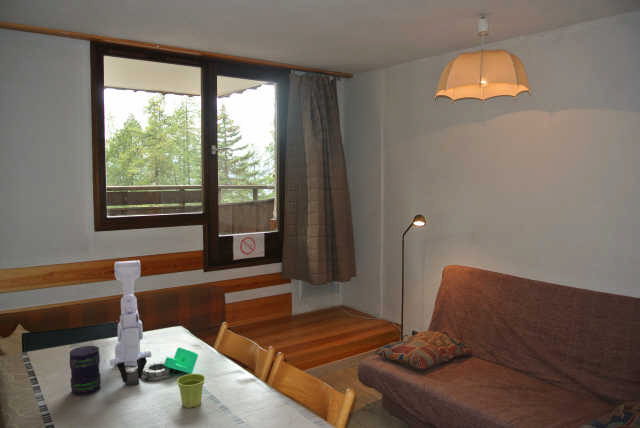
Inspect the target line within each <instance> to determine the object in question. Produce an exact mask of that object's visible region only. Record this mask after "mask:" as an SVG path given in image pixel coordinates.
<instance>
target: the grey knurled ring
mask: <svg viewBox="0 0 640 428" xmlns="http://www.w3.org/2000/svg"><path fill="white" fill-rule="evenodd" d="M164 363H165V361H157V362H152V363H149V364H146V365H145V367H144V369H143V372H142V377H141V380H143V381H145V382H158V381H163V380H167V379H169V378H172V377H173V376H174V375H175V374H176V369H173V368H169V367H166V366H164Z"/></svg>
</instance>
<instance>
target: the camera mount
mask: <svg viewBox="0 0 640 428" xmlns="http://www.w3.org/2000/svg"><path fill="white" fill-rule="evenodd" d="M198 358H199V353H197V352H194V351H192V350H189V349H187V348H182V347H178V348H177V349H176V351H175V354H174V357H171V356H166V358H165V360H164V362H165V363H164V366H166V367H169V368H173V369H175V370H177V371H181V372H184V373H187V374H193V372H194V369H195V367H196V363H197V360H198Z"/></svg>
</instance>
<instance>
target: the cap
mask: <svg viewBox="0 0 640 428" xmlns="http://www.w3.org/2000/svg"><path fill="white" fill-rule="evenodd" d="M139 384H140V379H139V369H138V368H137V367H132V368H131V367H130V368H126V383H124V386H125V387H134V386H135V387H136V386H137V385H139Z"/></svg>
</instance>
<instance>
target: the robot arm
mask: <svg viewBox="0 0 640 428" xmlns="http://www.w3.org/2000/svg"><path fill="white" fill-rule="evenodd" d="M141 273H142V272H141V261H140V260H139V259H137V260H126V261H115V262H114V277H115V279H116V281H120V282H121V283H122V293H123V294H122V295H123V296H122V297H121V299H120V315H119V322H118V324H117V329H116V330H117V342H116V344H115V348H114V358H112V359H110V360H109V363H110V364H109V365H110V367H115V366H116V368H117V369H118V371H119V373H120V376H121V379H122V383H124V384H125V383H126V370H127V366H130V367H136V368H138V369H139V380H140V379H141V377H142V372H143V369H144V367H145V366H146V365H147V362H148V361H147V358H152V351H150V350H148V351H147V350H146V351H141V341H142V340H143V339H144V331H143V330H144V329H143V322H142V320H141V319H140V314H139V310H138V298H137V297H136V296H135V291H134V290H135V289H134V286H135V285H134V283H135V282H136V280H138V279H139V278H140V277H141ZM141 380H142V379H141Z"/></svg>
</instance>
